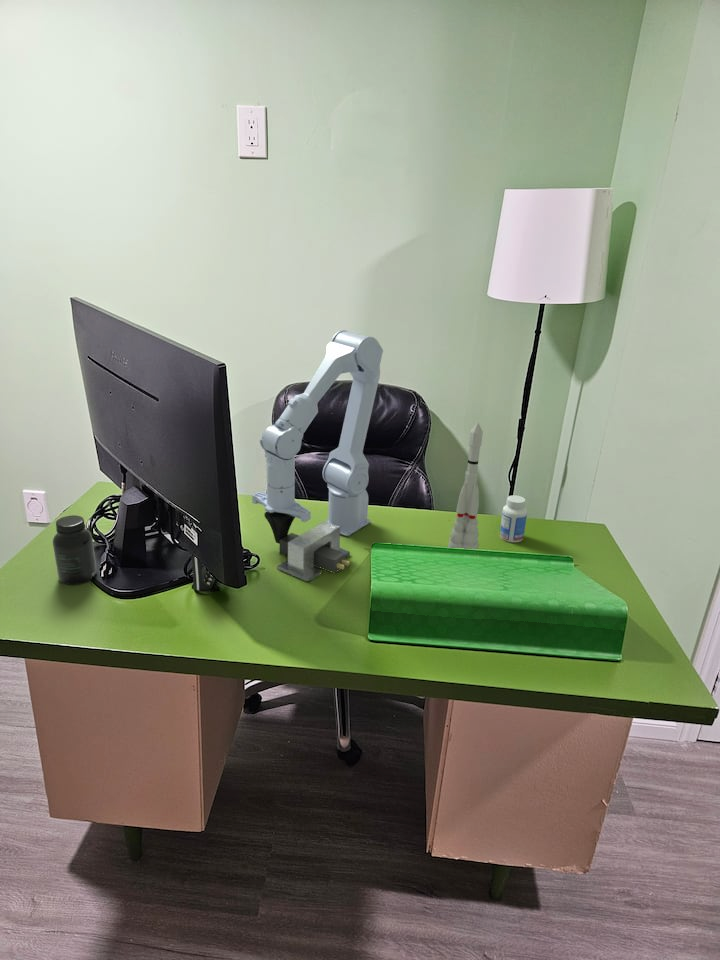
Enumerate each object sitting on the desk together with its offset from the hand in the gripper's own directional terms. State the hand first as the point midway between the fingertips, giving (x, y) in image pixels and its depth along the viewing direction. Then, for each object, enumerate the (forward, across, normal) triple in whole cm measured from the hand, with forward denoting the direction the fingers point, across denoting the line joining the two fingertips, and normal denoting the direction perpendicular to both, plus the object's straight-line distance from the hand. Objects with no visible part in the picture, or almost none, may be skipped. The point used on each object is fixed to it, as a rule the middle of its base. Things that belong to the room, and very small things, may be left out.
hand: (281, 541), depth 135 cm
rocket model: (+2, +32, +22) cm, 39 cm away
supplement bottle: (+2, -23, -33) cm, 40 cm away
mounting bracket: (+2, +9, 0) cm, 9 cm away
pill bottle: (+2, +37, +37) cm, 52 cm away
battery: (+2, -2, -19) cm, 19 cm away
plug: (+2, +8, 0) cm, 8 cm away
